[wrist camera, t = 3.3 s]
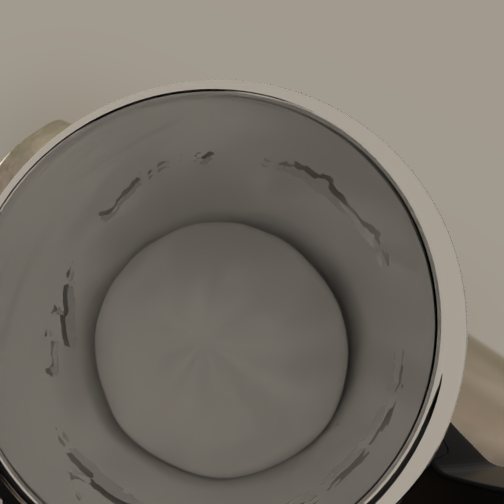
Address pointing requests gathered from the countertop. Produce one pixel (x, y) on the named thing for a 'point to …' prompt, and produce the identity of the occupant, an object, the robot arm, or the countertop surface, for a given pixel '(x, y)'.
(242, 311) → the beer glass
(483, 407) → the countertop surface
